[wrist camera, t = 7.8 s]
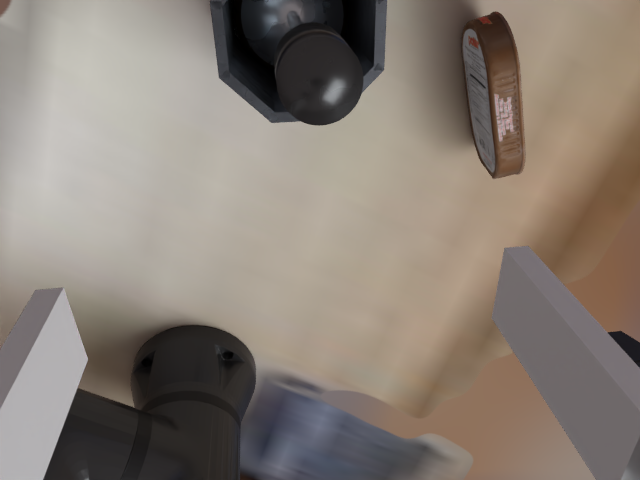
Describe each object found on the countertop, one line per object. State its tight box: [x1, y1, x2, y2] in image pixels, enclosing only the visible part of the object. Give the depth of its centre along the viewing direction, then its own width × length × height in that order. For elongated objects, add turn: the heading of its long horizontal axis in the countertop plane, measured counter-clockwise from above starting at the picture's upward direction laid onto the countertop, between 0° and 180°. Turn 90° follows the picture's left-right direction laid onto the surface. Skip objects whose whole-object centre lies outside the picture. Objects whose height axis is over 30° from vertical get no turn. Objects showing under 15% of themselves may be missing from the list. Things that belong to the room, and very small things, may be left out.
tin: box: [462, 12, 526, 179], centre depth 47 cm, size 15×3×8 cm, turn 16°
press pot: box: [210, 0, 387, 123], centre depth 38 cm, size 14×11×14 cm
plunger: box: [241, 0, 364, 125], centre depth 32 cm, size 8×8×20 cm
